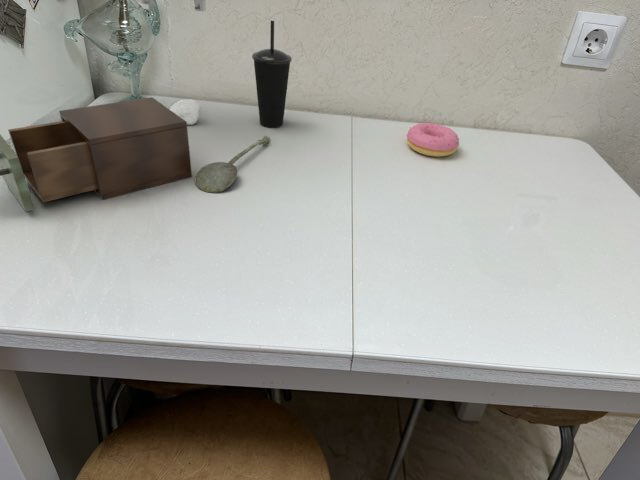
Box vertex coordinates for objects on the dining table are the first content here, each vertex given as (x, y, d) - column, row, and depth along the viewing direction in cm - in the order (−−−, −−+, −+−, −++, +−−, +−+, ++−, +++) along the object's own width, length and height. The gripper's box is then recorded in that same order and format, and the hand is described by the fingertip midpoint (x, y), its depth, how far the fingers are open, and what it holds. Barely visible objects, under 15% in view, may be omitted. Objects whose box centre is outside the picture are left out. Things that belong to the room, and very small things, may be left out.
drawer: (-12, 220, 65) (-33, 167, 60) (-32, 186, 71) (-53, 135, 66) (123, 187, 76) (114, 139, 71) (96, 159, 82) (86, 113, 77)
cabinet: (102, 199, 74) (88, 139, 68) (73, 168, 80) (58, 110, 75) (192, 176, 82) (186, 121, 77) (159, 149, 89) (152, 97, 83)
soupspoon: (187, 190, 80) (223, 201, 79) (185, 171, 78) (222, 183, 77) (252, 139, 96) (282, 148, 95) (252, 122, 94) (283, 132, 93)
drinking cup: (246, 125, 102) (244, 20, 90) (263, 114, 108) (263, 14, 96) (279, 133, 100) (281, 28, 89) (295, 121, 106) (299, 21, 94)
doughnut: (404, 155, 98) (408, 135, 96) (405, 134, 107) (408, 116, 105) (458, 163, 98) (463, 143, 96) (454, 141, 107) (459, 123, 105)
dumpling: (207, 121, 102) (206, 105, 99) (191, 133, 99) (190, 117, 96) (179, 107, 103) (177, 91, 100) (162, 119, 100) (160, 102, 97)
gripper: (233, -80, 83) (236, 11, 91) (111, -96, 82) (125, -3, 90) (224, -78, 77) (227, 18, 86) (93, -95, 77) (109, 2, 85)
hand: (174, 7), depth 88 cm, fingers open, 8 cm apart
